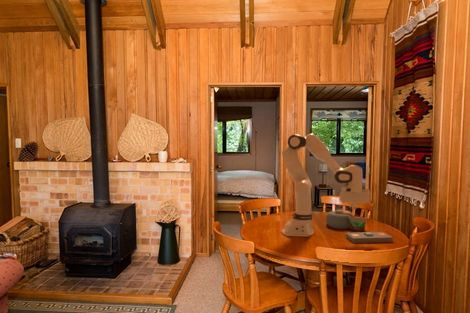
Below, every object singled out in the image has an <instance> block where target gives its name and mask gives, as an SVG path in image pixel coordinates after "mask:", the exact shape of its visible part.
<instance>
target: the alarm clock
mask: <svg viewBox="0 0 470 313" xmlns="http://www.w3.org/2000/svg"><path fill="white" fill-rule="evenodd" d="M349 216H351V217H354V215H353V213H352V212H351V211H349V210H344V209H335V210H330V211H328V212H327V214H326V217H325V219H326V221H325V223H326V224H327V227H330V228H333V229H341V230H342V229H344V230H345V229H351V224H350V219H349Z"/></svg>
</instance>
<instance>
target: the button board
mask: <svg viewBox="0 0 470 313" xmlns="http://www.w3.org/2000/svg"><path fill="white" fill-rule="evenodd" d="M364 232H365V231H355V232H345V238H347V240H349V241H350V242H352V243H353V244H364V243H366V244H367V243H368V244H369V243H393V242H394V241H393V240H394V238H393V236H391V235H389V234H387V233H386V232H384V231H370V233H372V234H373V236H366V235H364ZM381 233H383V234H385V235H386V236H380V235H378V234H381ZM351 234H358V235H359V236H352V235H351Z"/></svg>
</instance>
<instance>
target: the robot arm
mask: <svg viewBox="0 0 470 313" xmlns="http://www.w3.org/2000/svg"><path fill="white" fill-rule="evenodd" d="M287 144H288V146H287V147H284V149H283V150H282V151H281V156H282V159H283V162H284V165H285V167H286V170H287V172H288V174H289V176H290V178H291V179H292V180H293V183H294V198H295V200H294V201H295V212H291V213H290V214H291V216H292V218H291V219H289V220H288V221H287V222H285V226H284V228H282V229H281V233H282V234H283V235H284V236H287V237H311V235H313V234H314V229H313V222H312V221H313V214H312V193H311V192H312V188H313V184H312V182H311V180H310V177H309V175H308V174H307V172H306V170H305V168H304V165H303V164H302V161H301V159H300V156H299V154H298V151H299V150H301V149H302V148H306V149H307V150H308V151H309V152H310V154H311V155H312V156H314V158H315V159H317V160H318V161H321V162H323V163H324V164H326V166H327V167H328V168H329V169H330V170H331V171H332V173H333V176H334V179H335V181H336V182H337V183H339V184H346V183H347V185H346V186H342V187H340V189H341V191H340V192H339V197H338V199H339V201H340V202H341V203H349V204H350V206H351V210H352V209H353V210H357V209H358V207H359V205H360V203H370V201H371V190H370V189H368V188H363V175H364V174H363V172H364V171H363V167H361V166H360V165H356V164H350V165H348V167H347V166H346V167H342V166H340V164H339V163H338V162H337V161H336V160H335V159H334V157H332V155H331V153H330V150H329V149H328V147H327V145H325V142H323V141H322V140H321V139H320V138H319V137H318V136H317V135H316V134H314V133H309V134H307V135H305V136H303V135H301V134H300V133H299V134H298V133H294V134H291V135H290V136H289V137H288V139H287ZM354 203H355V205H354Z"/></svg>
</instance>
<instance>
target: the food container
mask: <svg viewBox="0 0 470 313" xmlns="http://www.w3.org/2000/svg"><path fill="white" fill-rule="evenodd" d="M349 219H350V224H351V227H350V230H352V231H354V232H365V230H366V229H365V228H366V221H367V220H368V219H367V217H366V216H365V217H362V216H361V217H360V216H353V217H351V216H349Z"/></svg>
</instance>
